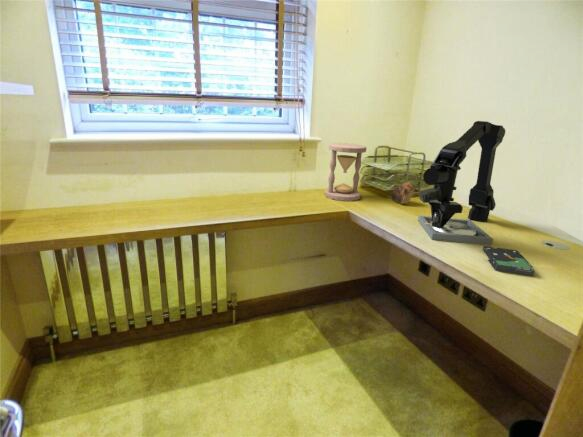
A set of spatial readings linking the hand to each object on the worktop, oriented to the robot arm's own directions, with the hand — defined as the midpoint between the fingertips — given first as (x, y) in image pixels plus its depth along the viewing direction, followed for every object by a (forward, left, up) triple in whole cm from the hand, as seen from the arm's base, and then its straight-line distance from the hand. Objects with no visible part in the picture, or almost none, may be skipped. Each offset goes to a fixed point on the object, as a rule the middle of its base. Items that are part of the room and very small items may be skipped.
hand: (437, 223), depth 128 cm
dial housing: (-6, -1, -4) cm, 7 cm away
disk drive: (-15, +22, -4) cm, 27 cm away
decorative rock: (+5, -40, -4) cm, 40 cm away
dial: (-6, -1, -3) cm, 7 cm away
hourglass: (+33, -43, -4) cm, 54 cm away
